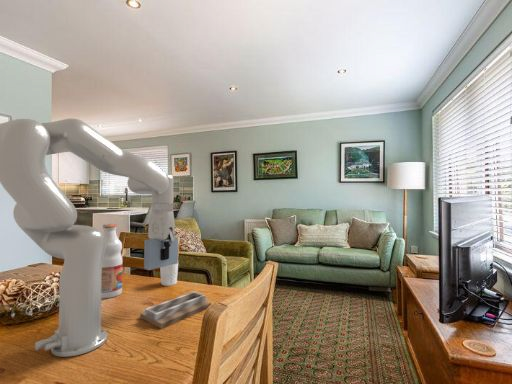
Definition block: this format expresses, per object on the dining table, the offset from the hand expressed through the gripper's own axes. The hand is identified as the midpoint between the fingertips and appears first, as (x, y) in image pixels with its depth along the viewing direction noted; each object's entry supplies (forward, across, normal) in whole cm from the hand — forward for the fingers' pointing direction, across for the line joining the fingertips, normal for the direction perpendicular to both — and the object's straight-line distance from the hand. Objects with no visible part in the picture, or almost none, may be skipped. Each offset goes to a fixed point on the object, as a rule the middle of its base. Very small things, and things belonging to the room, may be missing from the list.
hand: (161, 258), depth 98 cm
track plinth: (+17, +9, 0) cm, 19 cm away
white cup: (+17, -18, +17) cm, 30 cm away
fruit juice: (+17, -26, -6) cm, 32 cm away
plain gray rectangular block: (+3, 0, 0) cm, 3 cm away
